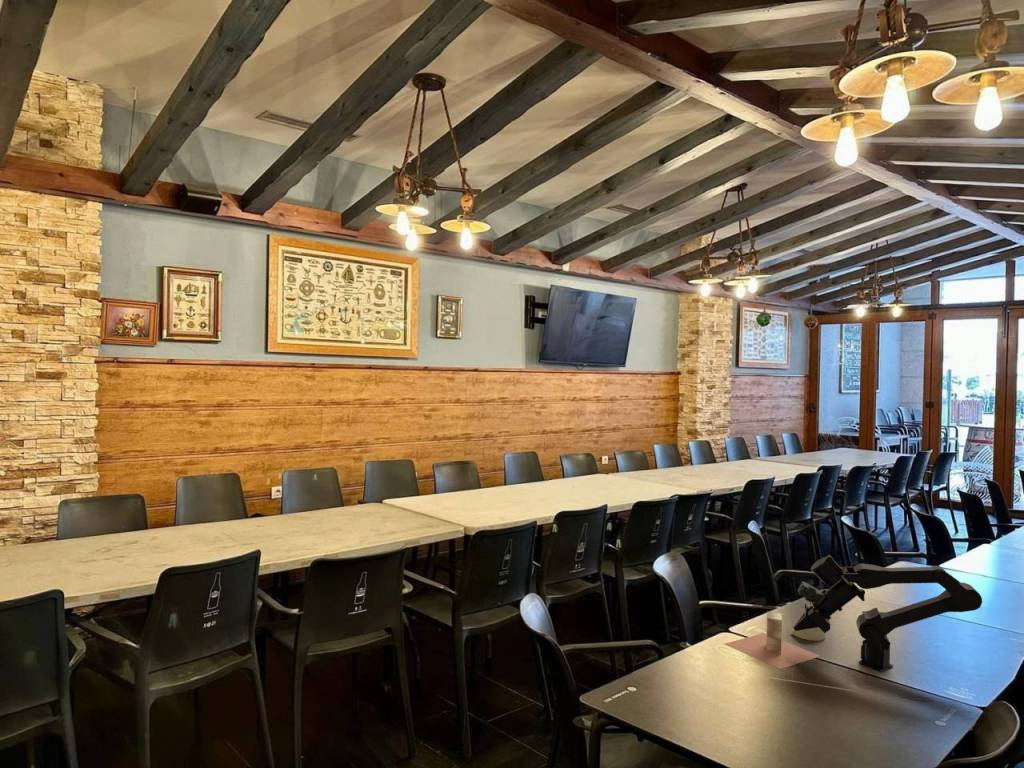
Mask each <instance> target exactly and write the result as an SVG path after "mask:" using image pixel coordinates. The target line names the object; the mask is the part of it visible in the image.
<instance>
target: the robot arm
mask: <svg viewBox="0 0 1024 768" xmlns="http://www.w3.org/2000/svg"><path fill="white" fill-rule="evenodd" d="M810 570H811V571H812V573H813V574H814V575H816V576H817V578H818V579H819V580H820V581H821V582H822V583H823V584H824V585H826V586H827V585H829V586H831V587H829V588H828V589H827V588H824V589H822V590H820V589H818V588H816V587H815V586H814V585H811V584H809V583H807V582H805V581H801V583H800V585H799V587H798V589H797V594H798V596H800V597H802V598H804V600H805V601H808V602H809V603H808V604H806V603H804V611H803V613H802V615H801V616H800V618H799V619H798V620H797V622H796V623H795V624H794V626H793V628H794V630H795V631H800V630H805V629H810V628H817V627H819V628H820V629H821V630H822V631H823V632H824V633H825V634H826V633H828V632H829V631H830V630H831V622H830V620H831V619H832V617H831V616H832V615H834V614H835V613H837V612H842V611H843V607H844V606H846V605H847V604H848V603H850V602H851V601H852V600H854V599H855V598H856V597H858V598H859V599H860V600H861V601H862V602H865V594H866V591H865V590H871V589H877V588H881V587H884V586H887V585H891V584H892V585H893V584H894V585H895V584H938V585H940V586H941V587H942V588H943V589H945V590H944V591H942V592H941V593H940V594H939V595H937V596H934V597H931V598H928V599H924V600H921V601H918V602H915V603H912V604H908V605H905V606H902V607H900V608H896V609H894V610H890V611H886V612H883V611H882V612H881V611H879V609H878V607H874V608H871V609H870V610H867V611H864V610H863V611H862V613H861V614H860V615H859V616H857V618H856V619H855V621H856V623H855V624H856V628H857V630H858V633H859V635H860V636H861V637H862V638H863V640H862V643H861V645H860V660H858V664H860V665H863V666H866V667H868V668H871V669H873V670H876V671H878V672H882V671H884V670H888V669H892V668H893V667H894V666H893V665H894V664H891V663H890V661H891V642H890V640H889V637H888V635H889V634H890V633H891V632H892V631H894V630H895V629H897V628H900V627H904V626H907V625H910V624H914V623H916V622H920V621H923V620H927V619H930V618H932V617H933V618H934V617H936V616H938V615H943V614H946V613H966V612H972V611H973V612H974V611H977V610H979V609H981V608H982V604H983V598H982V595H981V594H980V593H979V592H978V591H977V590H976V589H975V588H974V587H973V586H972V585H970V584H969V583H966V582H961V581H959V580H958V579H957V578H955V577H954V576H952V575H951V574H950V573H948V572H947V571H946V570H945V569H944V568H943V567H941V566H939V565H933V566H913V567H911V566H910V567H909V566H908V567H907V566H906V567H905V566H904V567H903V566H902V567H885V566H884V567H883V566H879V565H875V564H869V563H857V564H855V566H840V565H839V564H838V563H837V561H836V560H834V558H833V557H832V556H831V555H830V554H828V555H826V556H824V557H822V558H820V559H818V560H817V561H816V562H814V563H813V564H812V565H811V567H810ZM793 628H792V629H793Z"/></svg>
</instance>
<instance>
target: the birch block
mask: <svg viewBox="0 0 1024 768" xmlns="http://www.w3.org/2000/svg"><path fill="white" fill-rule="evenodd" d="M782 626H783V617H782V613H781V612H773V611H767V612H766V634H767V637H766V651H767V652H770V653H777V654H781V640H782V635H783V634H782V632H783V631H782V630H783V627H782Z"/></svg>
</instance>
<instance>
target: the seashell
mask: <svg viewBox="0 0 1024 768" xmlns="http://www.w3.org/2000/svg"><path fill="white" fill-rule="evenodd" d="M790 634H792V635H793V636H795V637H797V638H800V639H802V640H803V639H804V640H806V641H807V640H809V641H820V642H821V641H823V640H824V639H826V636H827V635H826V633H824V632H823V631H822V630H821V629H820V628H819V627H817V628H810V629H805V630H800V631H795V630H794V628H792V629H791V631H790Z"/></svg>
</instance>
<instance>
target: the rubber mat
mask: <svg viewBox="0 0 1024 768" xmlns="http://www.w3.org/2000/svg"><path fill="white" fill-rule="evenodd" d="M766 637H767V633H764V632H762V633H759V634H755V635H754V634H753V635H751V636H747V637H744V638H740V639H736V640H733V641H729V642H726V643H724V645H725V646H727V647H730V648H731V649H733V650H736V651H739V652H741V653H743V654H745V655H747V656H750V657H752V658H754V659H756V660H759V661H761V662H764V663H766V664H768V665H770V666H773V667H774V668H776V669H779V670H782V669H785V668H789V667H791V666H795V665H798V664H801V663H805V662H808V661H810V660H814V659H816V658H819V657H821V655H819V654H817V653H814V652H811V651H810V650H806V649H804V648H802V647H799V646H797V645H794V644H792V643H790V642H787V641H784V640H782V639H781V654H777V653H770V652H767V651H766Z"/></svg>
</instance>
